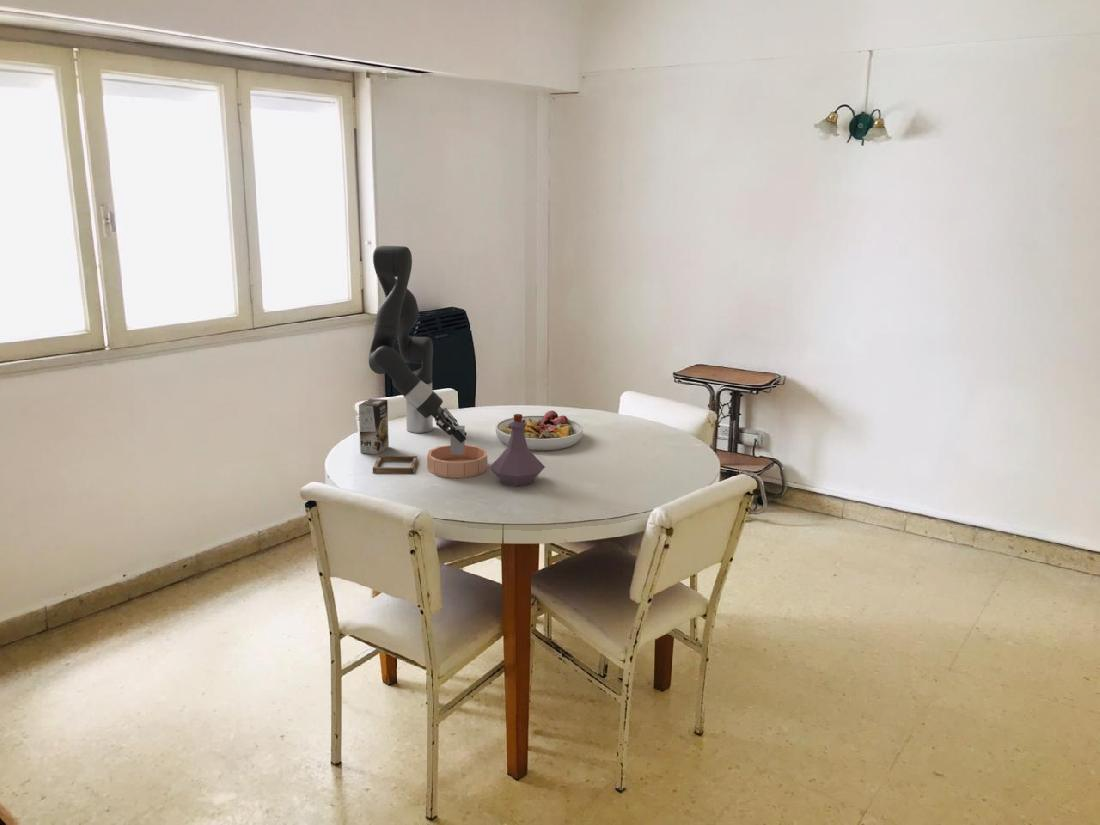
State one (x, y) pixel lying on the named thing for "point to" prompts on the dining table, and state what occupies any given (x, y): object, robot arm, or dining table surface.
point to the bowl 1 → (457, 462)
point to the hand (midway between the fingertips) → (464, 438)
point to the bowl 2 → (544, 431)
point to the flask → (517, 458)
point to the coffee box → (373, 426)
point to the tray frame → (395, 469)
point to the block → (458, 443)
